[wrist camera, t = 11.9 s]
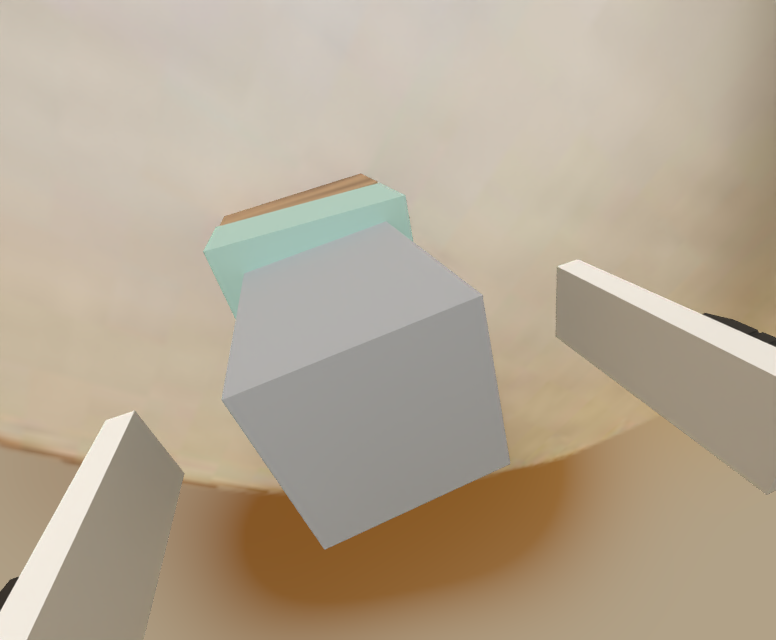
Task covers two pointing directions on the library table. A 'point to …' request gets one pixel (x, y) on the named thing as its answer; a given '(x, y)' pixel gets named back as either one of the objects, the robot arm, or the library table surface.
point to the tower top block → (298, 232)
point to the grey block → (364, 380)
